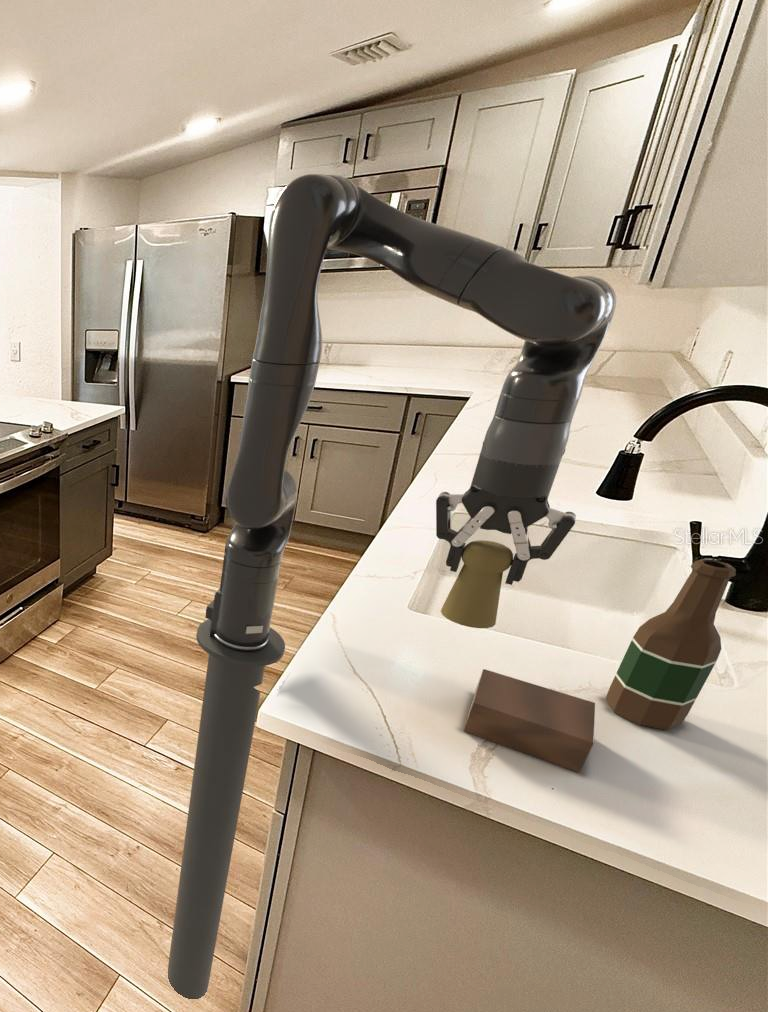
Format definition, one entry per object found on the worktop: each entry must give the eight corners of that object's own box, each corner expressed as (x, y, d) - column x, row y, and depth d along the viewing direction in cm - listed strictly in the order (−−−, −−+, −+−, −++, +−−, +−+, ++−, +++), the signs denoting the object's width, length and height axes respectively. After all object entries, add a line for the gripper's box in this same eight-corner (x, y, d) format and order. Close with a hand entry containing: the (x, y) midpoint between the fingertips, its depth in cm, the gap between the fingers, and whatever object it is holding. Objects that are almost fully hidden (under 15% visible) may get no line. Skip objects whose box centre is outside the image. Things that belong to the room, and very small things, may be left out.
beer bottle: (679, 739, 83) (764, 584, 73) (600, 712, 88) (669, 564, 78) (683, 712, 87) (763, 562, 77) (607, 688, 93) (673, 545, 83)
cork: (430, 612, 86) (451, 541, 81) (458, 601, 88) (479, 531, 83) (478, 632, 81) (502, 558, 76) (506, 621, 83) (531, 547, 78)
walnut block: (463, 731, 86) (473, 702, 84) (473, 695, 93) (483, 668, 91) (579, 773, 78) (593, 743, 76) (581, 731, 85) (595, 702, 83)
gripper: (442, 451, 77) (411, 571, 84) (601, 471, 68) (551, 603, 74) (453, 438, 82) (422, 552, 89) (602, 455, 72) (555, 580, 79)
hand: (481, 575), depth 82 cm, fingers closed on cork, 5 cm apart
